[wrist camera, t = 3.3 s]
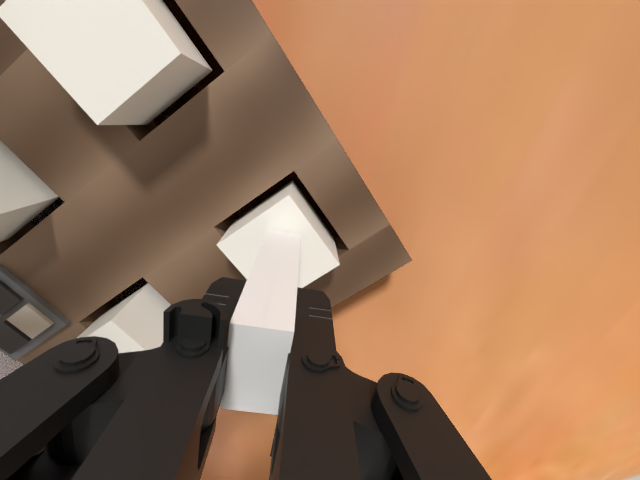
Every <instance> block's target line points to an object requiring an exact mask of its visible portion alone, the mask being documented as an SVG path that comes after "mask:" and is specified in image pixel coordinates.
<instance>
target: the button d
mask: <svg viewBox="0 0 640 480" xmlns="http://www.w3.org/2000/svg"><path fill="white" fill-rule="evenodd" d="M267 229H268V230H274V231H280V232H285V233H291V234H297V235H301V245H300V259H299V273H298V287H299V288H303V287H305V286H306V285H308V284H309V283H311V282H313V281H314V280H316V279H318V278H319V277H321V276H323V275H324V274H326V273H327V272H329V271H331V270H332V269H334V268H336V267H337V266H339V265H340V263H339V258H338V254H337V249H336V245H335V240H334V237H333V236H332V234H331V233H330V231H329V230H328V229H327V227H326V226H325V224H324V223H323V222H322V220H321V219H320V217H319V216H318V215H317V213H316V212H315V210H314V209H313V207H312V206H311V205H310V203H309V202H308V200H307V199H306V198H305V196H304V195H303V193H302V192H301V191H300V189H299V188H298V186H297V185H296V183H295V182H294V181H293V180H292V181H291V182H289V183H288V184H287V185H285V186H284V187H282V188H281V189H279V190H278V191H277V192H275V193H274V194H272V195H271V196H269V197H268V198H267V199H265V200H264V201H262V202H261V203H259V204H258V205H256V206H255V207H254V208H252V209H251V210H249V211H248V212H246V213H245V214H244V215H242V216H241V217H239V218H238V219H236V220H235V221H234V222H233V223H232V225H231V226H230V227H229V229H228V230H227V231H226V233H225V234H224V235H223V237H222V238H221V239H220V241H219V242H218V243H217V246H218V247H219V249H220V250H221V251H222V252H223V253H224V254H225V255H226V257H227V258H228V259H229V260H230V261H231V262H232V263H233V264H234V266H235V267H236V268H237V269H238V270H239V271H240V272H241V274H242V275H243V276H244V277H245V278H246V279H247V278H248V276H249V273H250V271H251V268H252V266H253V264H254V261H255V259H256V256H257V254H258V251H259V249H260V246H261V244H262V241H263V239H264V236H265V234H266V231H267Z"/></svg>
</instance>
